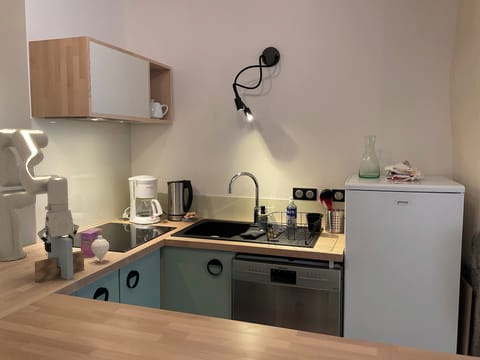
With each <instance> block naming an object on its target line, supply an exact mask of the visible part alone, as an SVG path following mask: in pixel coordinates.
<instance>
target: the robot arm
mask: <svg viewBox="0 0 480 360" xmlns="http://www.w3.org/2000/svg"><path fill="white" fill-rule="evenodd" d="M48 145H49V137H48V135H47V133H46V132H45V130H43V129H38V128H36V129H35V128H17V127H15V128H14V127H13V128H12V127H4V128H0V187H2V188H12V187H21V188H15V189H14V188H13V189H6V190H5V189H4V190H0V262H10V261H11V262H12V261H19V260H21V259H24V258H25V257H27V256H28V255H27V252H25V251H23V250H24V249H23V231H22V219H21V217H20V214H18V213H17V212H16V211H18V210H25V209H31V208H33V207H34V206H35V205H36V204H37V203H36V202H37V195H46V194H47V205H46V206H44V210H46V211H47V212H45V213H46V214H45V218H44V219H45V220H44V223H45V224H44V227H43V228H42V229H40V230H39V231H38V232H37V236H38V237H39V239H40V240H41V241H42V242H43V243H44V251H45V252H46V253H47V252H49V253H50V252H51V243H50V240H51V239H52V237H53V238H55V237H60V236H62V237H65V236H67V238H70V239H72V248H74V244H75V239H74V238H75V237H76V235H77V233H78V230H79V227H80V225H78V224H76V223H74V220H73V214H72V211H71V209H69V189H68V188H69V187H68V178H67V177H65V176H59V175H56V174H45V175H44V174H43V175H36V174H35V172H34V170H33V168H34V167H36V166H38V165H40V164H41V163H42V162H43V160H44V157H45V156H44V153H43V151H42V150H41V149H45V148H47V146H48ZM12 148H15V150H16V151H17V153H18V155H19V158H20V159H21V164H20V165H18V162H17V155H16V153H15V152H14V151H13V150H12ZM44 234H45V236H44Z"/></svg>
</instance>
